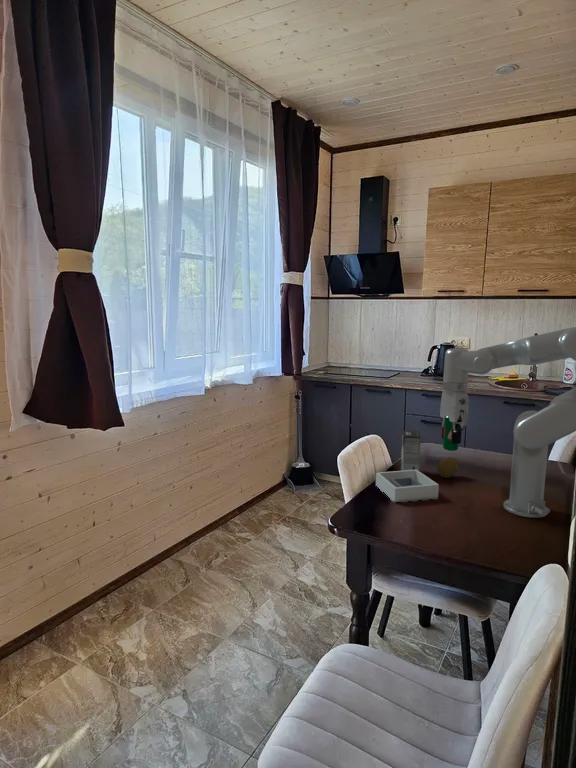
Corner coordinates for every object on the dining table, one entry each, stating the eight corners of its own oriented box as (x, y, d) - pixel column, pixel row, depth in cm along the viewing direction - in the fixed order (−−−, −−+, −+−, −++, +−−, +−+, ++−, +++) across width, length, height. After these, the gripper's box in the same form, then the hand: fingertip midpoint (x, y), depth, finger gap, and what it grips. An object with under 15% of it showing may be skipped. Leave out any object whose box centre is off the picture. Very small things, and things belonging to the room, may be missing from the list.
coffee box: (400, 469, 192) (401, 429, 189) (417, 470, 191) (418, 430, 188) (401, 477, 183) (403, 436, 180) (419, 478, 182) (421, 436, 179)
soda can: (448, 451, 159) (450, 415, 157) (439, 447, 164) (441, 412, 162) (461, 450, 160) (464, 415, 158) (452, 446, 165) (455, 411, 163)
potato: (459, 475, 185) (460, 455, 183) (455, 482, 178) (457, 461, 177) (440, 473, 188) (441, 453, 187) (436, 479, 181) (437, 458, 180)
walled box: (438, 498, 163) (438, 484, 162) (394, 503, 159) (395, 488, 158) (415, 482, 178) (416, 469, 177) (375, 486, 174) (376, 472, 173)
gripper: (480, 391, 151) (476, 447, 154) (451, 382, 167) (447, 433, 170) (459, 391, 149) (454, 449, 152) (431, 382, 166) (427, 434, 169)
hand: (450, 440), depth 161 cm, fingers closed on soda can, 5 cm apart
